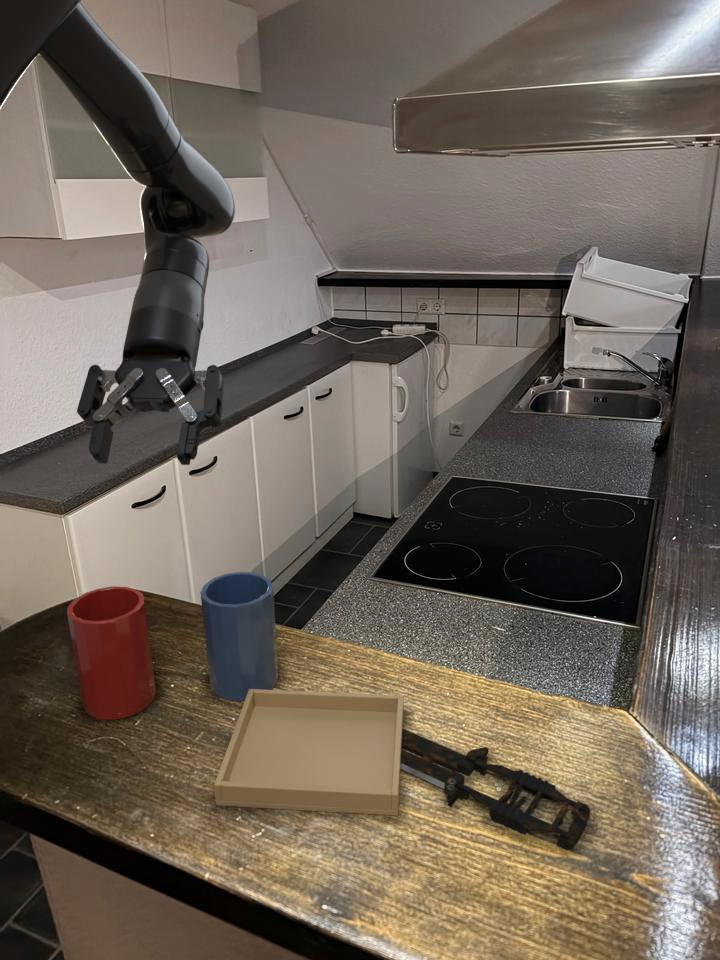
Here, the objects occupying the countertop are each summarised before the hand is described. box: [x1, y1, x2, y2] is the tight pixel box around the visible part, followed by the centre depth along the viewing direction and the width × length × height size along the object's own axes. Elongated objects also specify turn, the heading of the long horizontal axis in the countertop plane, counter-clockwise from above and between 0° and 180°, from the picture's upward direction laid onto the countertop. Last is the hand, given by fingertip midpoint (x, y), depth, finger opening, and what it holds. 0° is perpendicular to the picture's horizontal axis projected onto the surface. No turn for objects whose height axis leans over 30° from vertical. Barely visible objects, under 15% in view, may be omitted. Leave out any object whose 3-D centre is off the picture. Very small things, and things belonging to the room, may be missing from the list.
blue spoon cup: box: [200, 571, 279, 702], centre depth 72 cm, size 6×6×10 cm
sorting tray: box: [213, 689, 405, 817], centre depth 63 cm, size 14×12×2 cm
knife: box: [401, 728, 591, 851], centre depth 63 cm, size 25×6×1 cm, turn 50°
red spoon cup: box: [66, 585, 157, 721], centre depth 70 cm, size 6×6×10 cm
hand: (141, 461), depth 75 cm, fingers open, 8 cm apart
